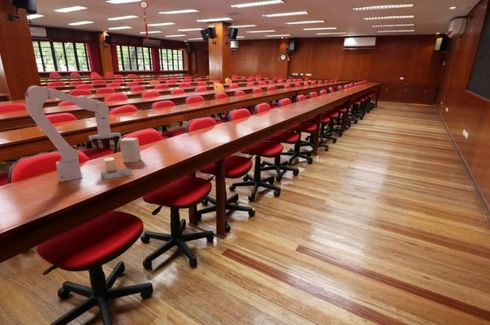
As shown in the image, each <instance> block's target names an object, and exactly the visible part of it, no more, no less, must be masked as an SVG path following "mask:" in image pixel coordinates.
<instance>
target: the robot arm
mask: <svg viewBox="0 0 490 325" xmlns="http://www.w3.org/2000/svg"><path fill="white" fill-rule="evenodd" d="M24 98H25V109H26V110H25V111H26V112H27V114H28V115H29V116H30V117H31V118H32V119H33V121H34V122H35V124H37V126H38V127H39V128H40V129H41V130H42V132H43V133H44V134H45V135H46V137H47V138H48V139H49V140H50V141H51V142H52V144H53V145H54V146H55V147H56V149H57V153H58V155H59V156H60V157H61V158H60V160H58V161H56V162H55V165H56V171H57V177H58V179H59V182H61V183H62V182H67V181H73V180H79V179H83V176H84V172H82V170H81V166H80V161H79V153H78V151H77V150H76V149H75V148H74V147H72V146H71V145H70V144H69V143H68V142H67V141H66V140H65V139H64V137H63V136H62V134H60V132H59V131H58V130H57V129H56V127H55V126H54V125H53V123H52V122H51V121H50V119H49V118H48V117H47V116H46V114H44V112H43V111H42V109H43V106H44V104H45V103H46V102H47V100H48V99H49V100H53V99H59V100H62V101H66V102H70V103H72V104H75V105H76V106H77V107H78V108H80V109H83V110H87V111H91V112H93V113H94V116H95V123H96V128H97V129H96V130H97V134H94V135H88V139H89V141H92V143H93V144H94V146H95V148H96V149H97V151H98V154H101V150H100V145H99V140H102V139H111V138H112V139H113V144H114V151H115V152H117V150H118V144H119V142H120V138H121V137H122V134H121V132H111V126H110V125H111V124H110V119H109V114H108V113H109V110H110V108H109V106H108V104H106V103H105V102H103V101H99V99H97V98H95V99H93V98H91V97H88V95H85V94H84V95H79V96H75V95H72V94H70V93H69V94H68V93H67V92H63V91H60V90H58V89H54V88H49V87H45V86H44V87H43V86H39V85H31V86H28V88H27V90H26V92H25V93H24Z"/></svg>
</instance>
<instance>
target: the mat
mask: <svg viewBox="0 0 490 325" xmlns="http://www.w3.org/2000/svg"><path fill="white" fill-rule="evenodd" d="M100 176H101V181H107V180H108V181H109V180H112V179H119V177H120V178H125V177H130V176H134V173H133V171H132V169H131V167H125V168H120V169H116V170H111V171H106V170H105V171H100Z"/></svg>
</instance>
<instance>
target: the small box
mask: <svg viewBox="0 0 490 325" xmlns="http://www.w3.org/2000/svg"><path fill="white" fill-rule="evenodd" d="M119 145H120V150H121V156H122V157H121V158H122V163H138V162H139V161H140V160H142V157H141V156H142V155H141V150H140V144H139V138H138V137H124V138H122V139H119Z"/></svg>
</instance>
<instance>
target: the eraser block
mask: <svg viewBox="0 0 490 325" xmlns="http://www.w3.org/2000/svg"><path fill="white" fill-rule="evenodd" d="M103 160H104V166H105V172H106V171H112V170H117V168H116V162H115V158H114V156H110V157H104V158H103Z"/></svg>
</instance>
